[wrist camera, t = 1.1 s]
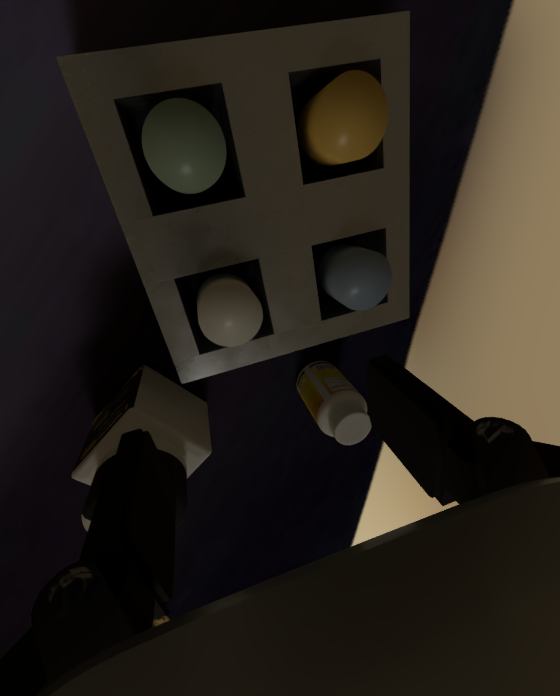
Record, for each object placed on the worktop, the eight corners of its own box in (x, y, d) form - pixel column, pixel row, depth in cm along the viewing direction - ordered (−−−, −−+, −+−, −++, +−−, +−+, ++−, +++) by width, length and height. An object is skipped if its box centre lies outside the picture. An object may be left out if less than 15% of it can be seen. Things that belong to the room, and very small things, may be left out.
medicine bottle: (143, 361, 28) (117, 460, 17) (208, 402, 31) (219, 505, 21) (93, 418, 29) (39, 544, 18) (161, 452, 32) (149, 575, 22)
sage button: (138, 122, 20) (128, 105, 16) (209, 110, 20) (214, 91, 17) (163, 200, 22) (158, 200, 18) (227, 187, 22) (234, 184, 19)
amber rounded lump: (293, 96, 21) (314, 75, 18) (354, 86, 22) (387, 64, 18) (303, 171, 23) (324, 166, 20) (359, 160, 24) (389, 153, 20)
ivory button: (188, 280, 24) (189, 294, 21) (245, 267, 25) (255, 278, 21) (205, 333, 26) (208, 353, 23) (257, 319, 27) (268, 337, 23)
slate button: (313, 250, 26) (333, 258, 22) (363, 238, 26) (391, 244, 23) (320, 302, 28) (339, 317, 24) (366, 289, 28) (392, 302, 25)
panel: (79, 82, 20) (55, 56, 16) (375, 40, 23) (409, 10, 19) (182, 361, 29) (181, 384, 25) (384, 305, 32) (409, 317, 28)
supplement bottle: (308, 405, 34) (342, 461, 27) (287, 376, 32) (317, 429, 25) (344, 380, 34) (387, 430, 27) (324, 350, 32) (365, 394, 25)
